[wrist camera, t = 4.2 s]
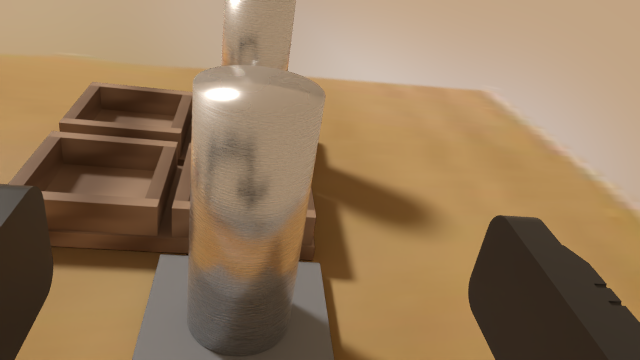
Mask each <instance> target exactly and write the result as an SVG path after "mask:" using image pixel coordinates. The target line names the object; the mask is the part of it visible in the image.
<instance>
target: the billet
mask: <svg viewBox="0 0 640 360" xmlns="http://www.w3.org/2000/svg"><path fill="white" fill-rule="evenodd" d="M295 3H296V0H225V6H224V26H223V45H222V63H221V66H228V65H254V66H263V67H270V68H276V69H281V70H285V71H288V62H289V54H290V46H291V36H292V29H293V20H294V12H295Z"/></svg>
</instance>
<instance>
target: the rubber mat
mask: <svg viewBox="0 0 640 360" xmlns="http://www.w3.org/2000/svg"><path fill="white" fill-rule="evenodd" d="M187 294H188V256H182V255H163V254H160V258H159V262H158V265H157V269H156V273H155V277H154V280H153V284H152V288H151V291H150V295H149V299H148V303H147V306H146V310H145V314H144V317H143V321H142V325H141V329H140V332H139V336H138V340H137V343H136V347H135V351H134V355H133V358H132V360H334V355H333V349H332V342H331V335H330V328H329V322H328V315H327V308H326V301H325V295H324V288H323V281H322V274H321V268H320V263H312V262H299V264H298V270H297V277H296V283H295V289H294V295H293V302H292V308H291V314H290V320H289V326H288V329H287V332H286V334H285V335H284V337H283V338H282V340H281V341H280V342H279V343H278V344H276V345H275V346H274V347H272V348H271V349H269V350H267V351H265V352H263V353H260V354H257V355H253V356H246V357H230V356H224V355H220V354H217V353H214V352H212V351H210V350H208V349H206V348H204V347H203V346H202V345H200V344H199V343H198V342H197V341H196V340H195V339H194V338H193V336H192V335H191V333H190V331H189V329H188V325H187Z"/></svg>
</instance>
